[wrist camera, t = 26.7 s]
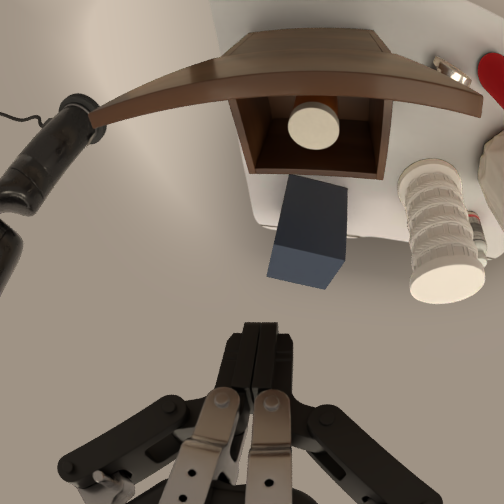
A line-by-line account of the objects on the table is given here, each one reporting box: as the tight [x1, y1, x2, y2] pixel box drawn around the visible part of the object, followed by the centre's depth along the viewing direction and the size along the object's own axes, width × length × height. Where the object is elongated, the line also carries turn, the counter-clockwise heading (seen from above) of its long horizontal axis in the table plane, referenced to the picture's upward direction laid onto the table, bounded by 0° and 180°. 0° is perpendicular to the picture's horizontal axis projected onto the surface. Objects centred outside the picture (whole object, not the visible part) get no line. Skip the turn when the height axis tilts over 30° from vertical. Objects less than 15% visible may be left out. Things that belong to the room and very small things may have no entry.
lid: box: [88, 48, 483, 129], centre depth 12 cm, size 14×15×1 cm
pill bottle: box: [468, 212, 487, 268], centre depth 37 cm, size 5×5×10 cm
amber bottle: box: [288, 95, 339, 150], centre depth 27 cm, size 5×5×10 cm
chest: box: [221, 28, 393, 180], centre depth 26 cm, size 14×15×12 cm
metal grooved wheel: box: [433, 57, 472, 87], centre depth 20 cm, size 5×3×5 cm, turn 85°
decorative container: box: [398, 159, 485, 304], centre depth 33 cm, size 12×12×18 cm
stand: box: [267, 174, 348, 289], centre depth 45 cm, size 10×10×14 cm
